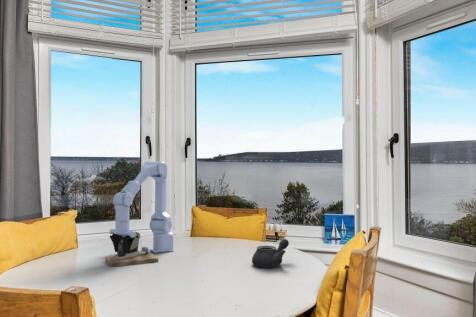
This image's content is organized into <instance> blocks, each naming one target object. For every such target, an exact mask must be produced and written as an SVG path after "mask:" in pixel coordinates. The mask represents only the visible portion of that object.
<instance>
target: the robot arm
mask: <svg viewBox="0 0 476 317" xmlns="http://www.w3.org/2000/svg"><path fill="white" fill-rule="evenodd" d="M141 168H142V169H141V170H140V171H139V173H138V174H137V176H136V177H135V179H134V180H129V181H128V182H127V183H126V185H125V186H124V187H123V188H122V189H121V190H120V192H116V194H114V196H113V199H112V203H113V205H114V210H115V226H114V227H115V228H111V229H109V234H110V235H109V238H110V240H111V242H112V245H113V248H114V249H113V250H114V252H115V253H117V252H118V243H119V242H121V240H122V241H123V246H124V254H127V253H129V251H130V248H131V245H132V242H133V240H134V239H135V232H136V231H132V230H130V208H131V207H130V206H131V205H132V204H133V201H134V199H135V196H136V195H137V193H139V191H140V190H141V185H142V184H143V183H144V182H145V181H146V180H147V179H148V178H149V177H150V178H152V179H153V180H154V182H155V190H154V191H155V192H154V194H155V195H154V213H153V214H152V215H151V216H150V222H149V229H150V231H151V233H152V236H153V237H152V248H150V251H152V253H165V252H174V233H173V232H172V231H171V230H172V229H173V222H172V216H171V215H170V214H168V212H167V185H168V184H167V183H168V182H167V179H168V165H167V164H166V163H165V162H164V161H163V160H162V161H148V160H147V161H145V163H144V164H142V166H141ZM123 236H125V237H123Z"/></svg>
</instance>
